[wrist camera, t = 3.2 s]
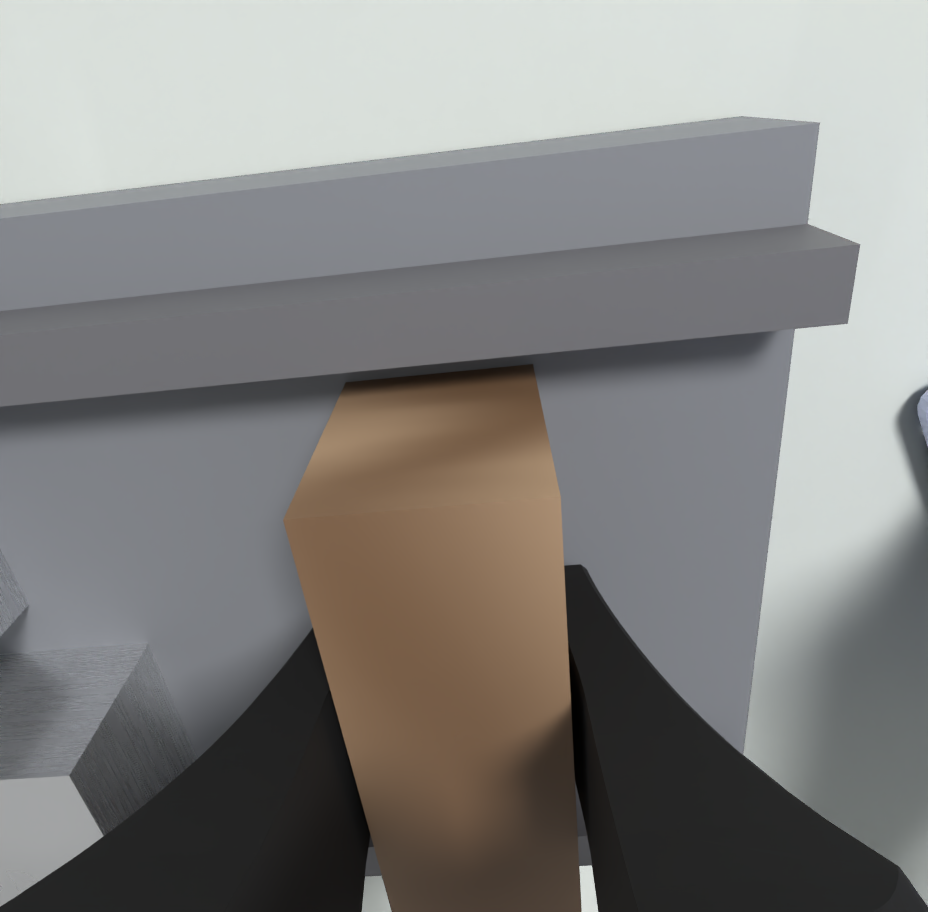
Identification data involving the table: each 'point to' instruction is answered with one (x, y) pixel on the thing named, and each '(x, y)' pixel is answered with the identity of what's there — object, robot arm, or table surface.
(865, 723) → the table surface
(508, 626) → the bar
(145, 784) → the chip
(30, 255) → the channel board
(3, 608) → the grey small block
